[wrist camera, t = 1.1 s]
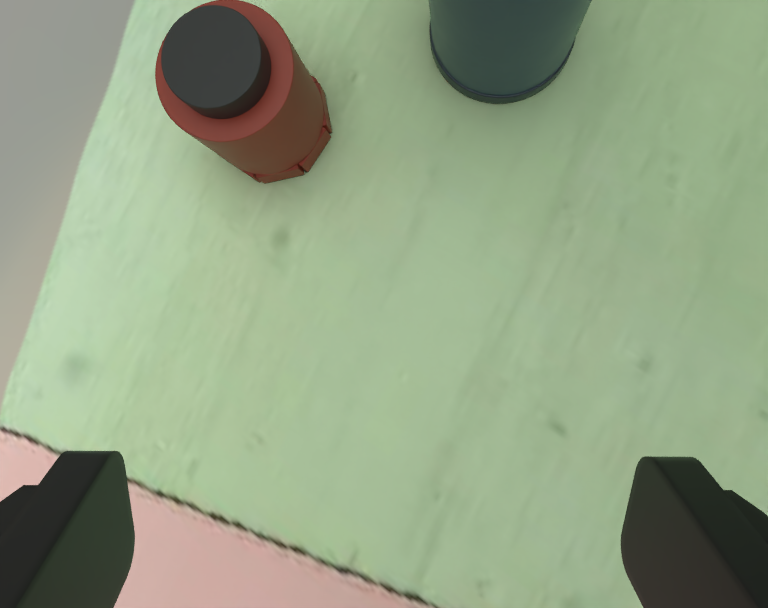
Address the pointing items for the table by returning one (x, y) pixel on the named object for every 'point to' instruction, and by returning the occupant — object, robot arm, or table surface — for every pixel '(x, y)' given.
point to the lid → (243, 90)
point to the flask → (503, 44)
